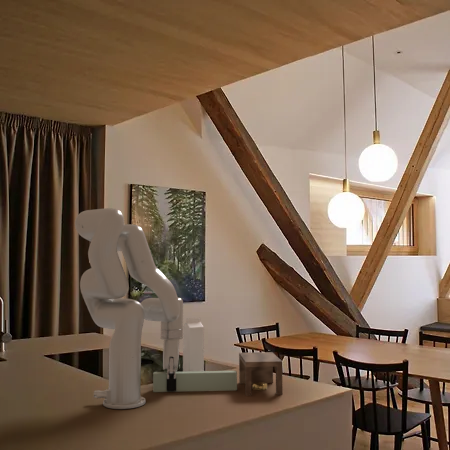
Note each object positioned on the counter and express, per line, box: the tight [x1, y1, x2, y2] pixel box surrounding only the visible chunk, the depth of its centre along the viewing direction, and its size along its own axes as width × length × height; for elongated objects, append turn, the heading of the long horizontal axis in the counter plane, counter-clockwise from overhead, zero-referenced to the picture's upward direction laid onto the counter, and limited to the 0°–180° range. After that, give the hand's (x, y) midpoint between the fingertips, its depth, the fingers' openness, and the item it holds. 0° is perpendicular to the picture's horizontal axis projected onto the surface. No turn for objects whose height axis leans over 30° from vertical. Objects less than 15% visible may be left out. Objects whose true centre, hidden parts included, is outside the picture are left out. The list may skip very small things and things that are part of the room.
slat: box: [152, 370, 238, 393], centre depth 178 cm, size 28×3×6 cm, turn 95°
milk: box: [182, 317, 205, 372], centre depth 198 cm, size 6×6×22 cm
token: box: [252, 382, 268, 391], centre depth 180 cm, size 5×5×2 cm
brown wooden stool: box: [238, 351, 284, 396], centre depth 180 cm, size 12×18×11 cm, turn 5°
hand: (171, 389), depth 177 cm, fingers closed on slat, 3 cm apart
